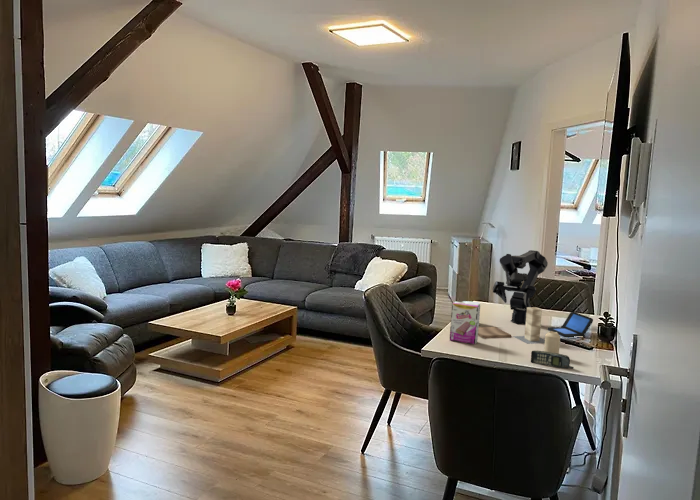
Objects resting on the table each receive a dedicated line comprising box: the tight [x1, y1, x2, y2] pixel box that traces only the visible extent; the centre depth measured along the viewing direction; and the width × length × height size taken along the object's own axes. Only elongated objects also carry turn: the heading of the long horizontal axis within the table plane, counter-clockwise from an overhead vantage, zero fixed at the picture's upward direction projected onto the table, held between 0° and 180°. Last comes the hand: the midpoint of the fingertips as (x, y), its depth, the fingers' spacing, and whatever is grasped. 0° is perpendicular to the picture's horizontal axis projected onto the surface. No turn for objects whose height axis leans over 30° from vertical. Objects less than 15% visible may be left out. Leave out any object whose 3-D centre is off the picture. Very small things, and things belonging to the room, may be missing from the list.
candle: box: [543, 331, 561, 354], centre depth 210 cm, size 6×6×10 cm
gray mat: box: [512, 335, 545, 345], centre depth 235 cm, size 12×12×1 cm
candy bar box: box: [449, 300, 481, 345], centre depth 226 cm, size 11×5×16 cm, turn 65°
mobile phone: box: [530, 350, 574, 369], centre depth 199 cm, size 5×3×15 cm
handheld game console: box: [547, 311, 594, 338], centre depth 248 cm, size 16×13×9 cm
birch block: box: [524, 306, 543, 341], centre depth 234 cm, size 4×4×14 cm
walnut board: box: [478, 326, 512, 339], centre depth 242 cm, size 14×14×1 cm
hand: (516, 303), depth 242 cm, fingers open, 9 cm apart
